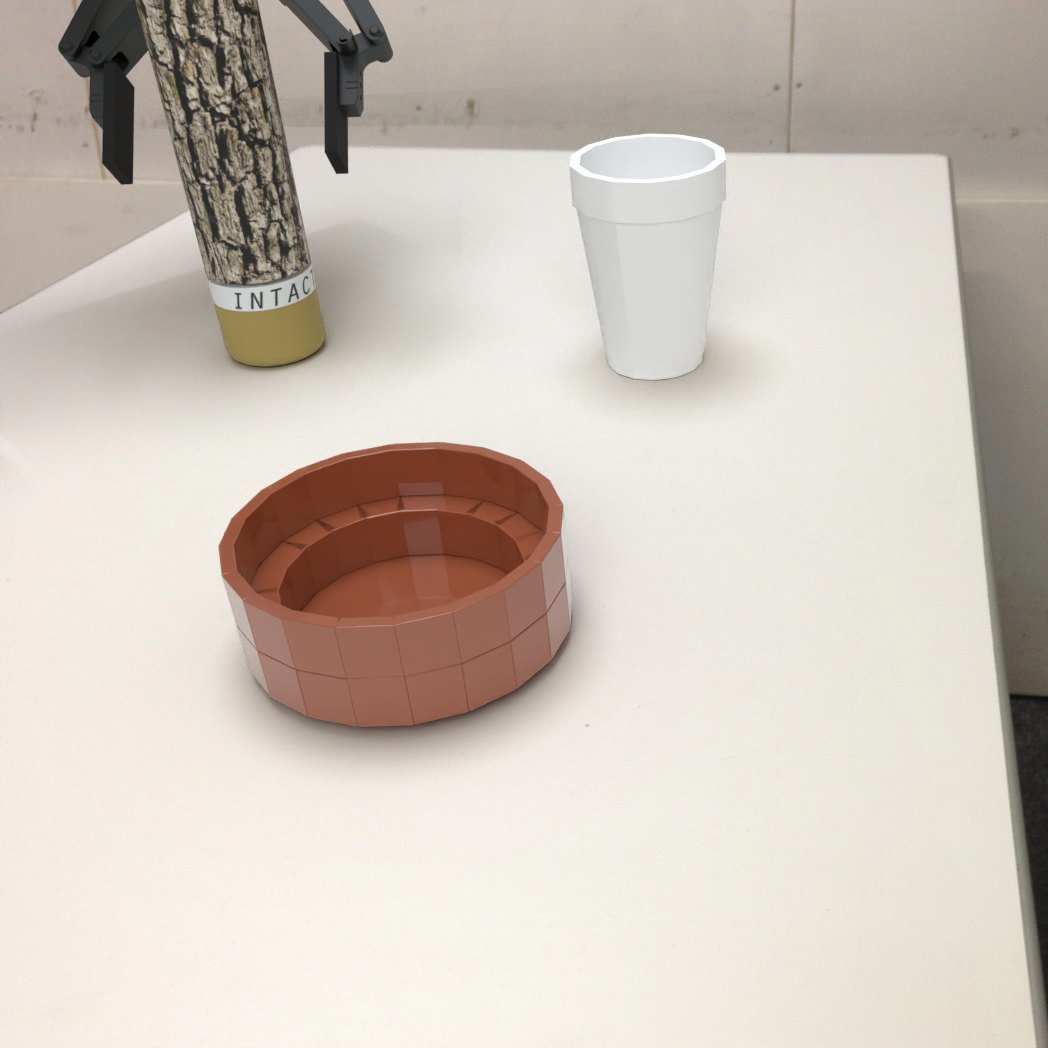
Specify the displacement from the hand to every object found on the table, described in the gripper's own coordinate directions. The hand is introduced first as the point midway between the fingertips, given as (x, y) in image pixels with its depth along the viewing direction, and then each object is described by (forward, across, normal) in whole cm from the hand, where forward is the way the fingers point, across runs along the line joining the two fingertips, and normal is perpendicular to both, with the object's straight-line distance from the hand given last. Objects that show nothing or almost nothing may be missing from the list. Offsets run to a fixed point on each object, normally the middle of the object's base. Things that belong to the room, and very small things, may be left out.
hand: (226, 169), depth 79 cm
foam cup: (+11, -26, -8) cm, 29 cm away
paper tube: (+8, 0, -11) cm, 13 cm away
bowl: (+31, -14, +13) cm, 36 cm away
